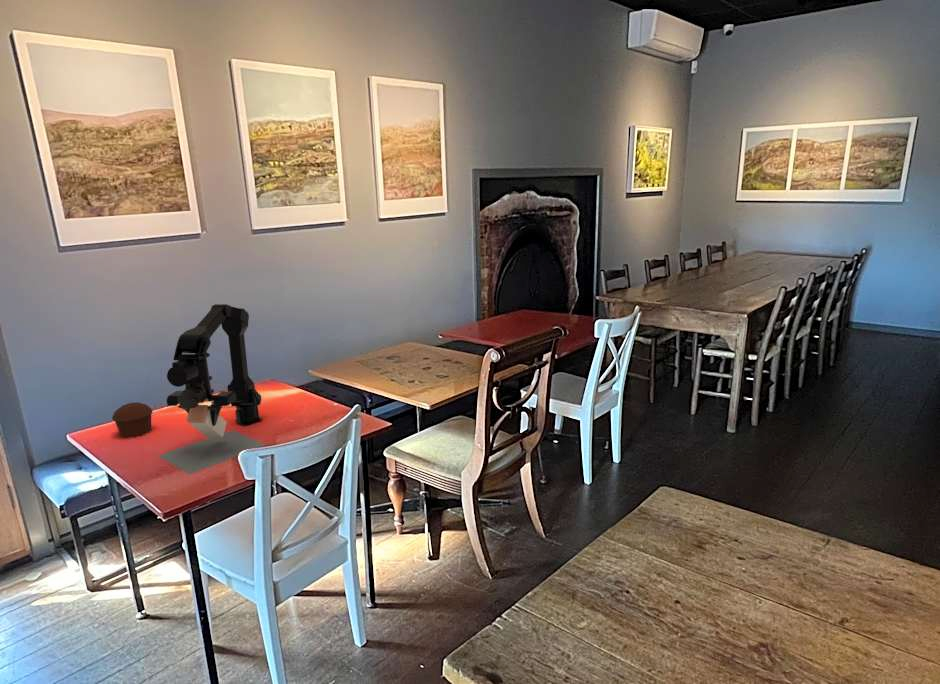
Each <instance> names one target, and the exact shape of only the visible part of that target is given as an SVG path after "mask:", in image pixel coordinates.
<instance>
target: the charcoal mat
mask: <svg viewBox="0 0 940 684" xmlns="http://www.w3.org/2000/svg"><path fill="white" fill-rule="evenodd" d="M264 446H266V443H262V442H260V441H258V440H256V439H254V438H251V437H249V436H247V435H245V434H243V433H240V432H238V431H235V430H234V429H232V430H228V431H226V432H225V431H224V435H223V437H207V438H205V439H203V440H199V441H196V442H193V443H190V444H188V445H185V446H181V447H178V448H176V449H172V450H171V451H167V452H164V453H161V454H159V455H157V457H158V458H160V459H162V460H164V461H166V462H168V463H169V464H171V465H173V466H174V467H176V468H178V469H180V470H181V471H183V472H184V473H186V474H188V475H191V474H194V473H197V472H199V471H201V470H204V469H207V468H210V467H212V466H214V465H217V464H220V463H223V462H225V461H228V460H230V459H233V458H236V457H238V454H239V452H241V451H243V450H246V449H251V448H257V449H260V448H262V447H264ZM259 447H260V448H259Z"/></svg>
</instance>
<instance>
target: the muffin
mask: <svg viewBox="0 0 940 684" xmlns="http://www.w3.org/2000/svg"><path fill="white" fill-rule="evenodd" d="M152 414H153V409H152V408H151V407H150V406H149V405H148V404H146V403H142V402H140V401H139V402H129V403H126V404H124V405H121V406H119V407H118V408H117V409H116V410H115V411H114V412H113V415H112V417H111V420H112V421H114V422H115V425H116V428H117V431H118V433H119V436H120V437H122V438H123V437H134V438H137V437H136V436H140V437H142V436H141V435H143V434H145V435H147V434H146V433H148V432H149V431H150V430H151V431H152ZM151 431H150V432H151ZM150 432H149V433H150ZM149 433H148V434H149ZM143 436H144V435H143Z"/></svg>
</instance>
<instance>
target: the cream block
mask: <svg viewBox="0 0 940 684" xmlns="http://www.w3.org/2000/svg"><path fill="white" fill-rule="evenodd" d="M209 406H210V405H208V404H198V406H197V407H196V408H190V410H189V413H187V416H186V417H187V418H186V422H187V423H189V424H190V425H191V426H193V428H195V429H196V430H197V431H198V432H200V433H201V434H202V435H204V437H206V438H210V437H223V435H224V433H225V431H226V427H227V424H228V422H227V420H225V419H224V418H223V417H222V416H221V415H219V416H218V419H217V422H216V425H215V426H213V425H212V420H211V411H210V410H209V408H208V407H209Z"/></svg>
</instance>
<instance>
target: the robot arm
mask: <svg viewBox="0 0 940 684" xmlns="http://www.w3.org/2000/svg"><path fill="white" fill-rule="evenodd" d="M249 319H250V315H249V312H248V311H247V310H246V309H245V308H242V307H241V308H239V307H236V306H231V305H229V304H225V303H224V304H221V303H219V304H218V303H217V304H212V306H211V308H210V310H209V311H208V312H207V313H206V315H205V316H204V317H203V318H202V319H201V321H199V323H198V324H197V325H196V326H195V327H193V328H190V329H187V330H185V331H184V332H183V333H182V334H180V335H179V338H178V340H177V342H176V346H175V351H174V355H173V362H172V363H171V365H172V367H170V368H169V369H168V370H167V373H166V379H167V381H168V382H169V384H171V385H172V386H174V387H178V388H179V387H180V388H181V387H184V386H185V388H184V389H183V390H175V391H174V392H172V393H171V394H168V396H167V397H166V405H167V406H168V407H176V406H177V407H178V409H181V410H184V411H185V412H186V413H187V414H188V413H189V410H190V408H196V407H197V406H198V405H200V404H203V403H204V402H211V404H210V405H208V406H209V407H208V408H209V410H210V411H211V420H212V425H213V426H215V425H216V422H217V419H218V416H220V413H221V410H222V407H227V406H230V405H231V407H235V408H236V409H235V419H236V420H235V422H236V423H237V424H240V425H242V426H245V427H247V426H249V425H251V424H252V425H253V424H254V423H257V422H261V421H263V418H262V417H260V415H259V407H258V406H260V405H261V403H262V395H261V394H260V393H259V392H258V391H257V390H256V386H255V383H254V381H253V379H252V378H251V377H250V376H249V371H248V361H247V360H248V359H247V352H246V351H247V349H246V341H245V339H246V338H245V333H246V331H247V330H248V328H249ZM220 326H221V329H222V330H223V331H224V333H225V334H226V336H228V345H229V357H230V365H231V373H232V374H231V375H232V380H231V381H230V383H229V384H227V387H226V388H227V390H222V391H220V392H219V393H217V394H214V392H215V389H214V388H212V385H211V381H212V380H213V376H212V375H210V372H209V365H208V358H209V357H210V355H211V354H210V353H209V352H208V350H209V347H210V346H211V344H212V342H211V337H212V336H213V335H214V333H215V332H216V331H217V330H218V328H219V327H220Z"/></svg>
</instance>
